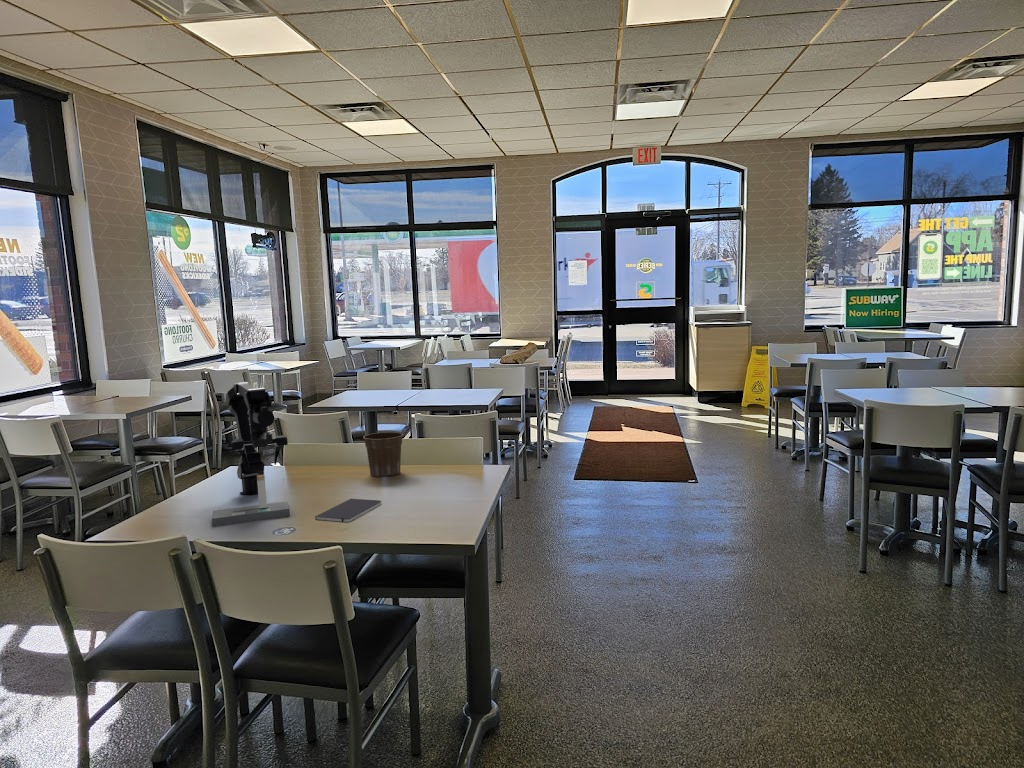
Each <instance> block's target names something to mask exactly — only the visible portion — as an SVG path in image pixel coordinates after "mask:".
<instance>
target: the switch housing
mask: <svg viewBox="0 0 1024 768" xmlns="http://www.w3.org/2000/svg"><path fill="white" fill-rule="evenodd" d="M290 516H291V509H290V503H289V501H288V500H286V501H278V502H271V503H267V508H260V509H259V504H256V505H255V504H253V505H248V506H247V505H246V506H238V507H231V508H222V509H215V510H213V511H212V516H211V525H212V526H213V527H215V526H223V525H229V524H237V523H244V522H252V521H260V520H266V519H267V520H268V519H273V518H282V517H290Z"/></svg>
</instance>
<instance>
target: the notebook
mask: <svg viewBox="0 0 1024 768" xmlns="http://www.w3.org/2000/svg"><path fill="white" fill-rule="evenodd" d="M381 504H382V500H379V499H378V500H376V499H375V500H374V499H362V498H349V499H347V500H345V501H343V502H341V503H339V504H337V505H335V506H334V507H331V508H329V509H327V510H325V511H323V512H322V513H319V514H317V515H315V517H314V518H315V520H319V521H320V520H321V521H333V522H342V523H344V522H347V523H349V522H351V521H353V520H355V519H357V518H359V517H361V516H362V515H364V514H366V513H368V512H369V511H371V510H374V509H375V508H376V507H379V506H380V505H381Z"/></svg>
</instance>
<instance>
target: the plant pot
mask: <svg viewBox="0 0 1024 768" xmlns="http://www.w3.org/2000/svg"><path fill="white" fill-rule="evenodd" d="M403 436H404V433H402V432H397V431H386V432H385V431H383V432H382V431H381V432H375V433H369V434H365V435H363V440H364V445H365V447H366V453H367V461H368V466H369V473H370V475H371V476H373V477H377V478H385V477H389V476H391V475H393V476H396V475H395V474H397V475H399V474H400V473H401V462H402V461H401V458H402V457H401V455H402V444H403ZM399 472H400V473H399ZM398 473H399V474H398Z"/></svg>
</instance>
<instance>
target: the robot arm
mask: <svg viewBox="0 0 1024 768" xmlns="http://www.w3.org/2000/svg"><path fill="white" fill-rule="evenodd" d="M225 403H226V406H227V407H228V410H229V413H231V414H232V415H233V416H234V418H235V423H236V429H237V433H238V438H239V439H233V440H232V441H231V451H235V452H236V453H239V455H240V458H239V460H238V462H239V463H238V466H237V471H236V474H237V479H239V480H241V490H242V491H240V492H239V495H251V496H252V495H256V494H258V484H257V475H265V462H264V460H263V459H262V456H261V453H260V451H257V450H256V449H258V448H261V447H263V448H265V447H267V446H268V445H273V444H274V455H273V457H274V458H273V459H274V460H273V463H274V466H276V465H277V462H278V457H279V454H280V451H281V450H282V449H284V448H285V446H287V445H289V442H288V437H287V436H286V435H285V434H283V435H282V434H281V435H275V438H273V431H268V427H270V426H271V425H272V424H273V423H274V421H275V415H274V414H273V412H272V411H271V410H269V409H268V408H272V403H273V401H272V399H271V396H270V394H269V393H268V390H266V388H265V387H254V385H252V384H250V383H249V382H247V381H241V382H235V383H234V384H233V387H231V388H230V389H229V390H228V391H227V393H226V397H225Z"/></svg>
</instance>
